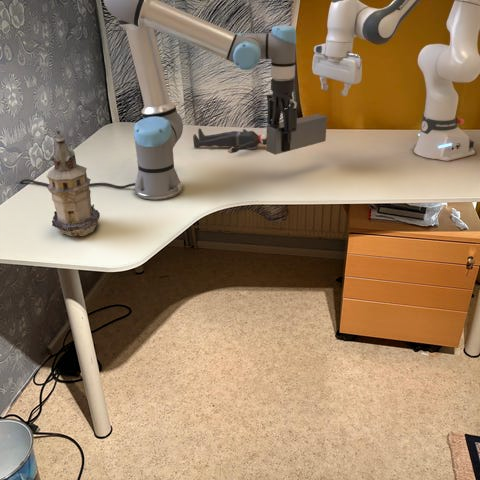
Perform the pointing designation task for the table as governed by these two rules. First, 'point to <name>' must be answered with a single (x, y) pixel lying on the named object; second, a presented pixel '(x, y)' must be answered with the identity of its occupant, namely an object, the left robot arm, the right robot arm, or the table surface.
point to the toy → (230, 140)
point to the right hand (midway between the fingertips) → (334, 92)
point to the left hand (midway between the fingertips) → (280, 148)
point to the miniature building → (70, 193)
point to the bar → (297, 133)
